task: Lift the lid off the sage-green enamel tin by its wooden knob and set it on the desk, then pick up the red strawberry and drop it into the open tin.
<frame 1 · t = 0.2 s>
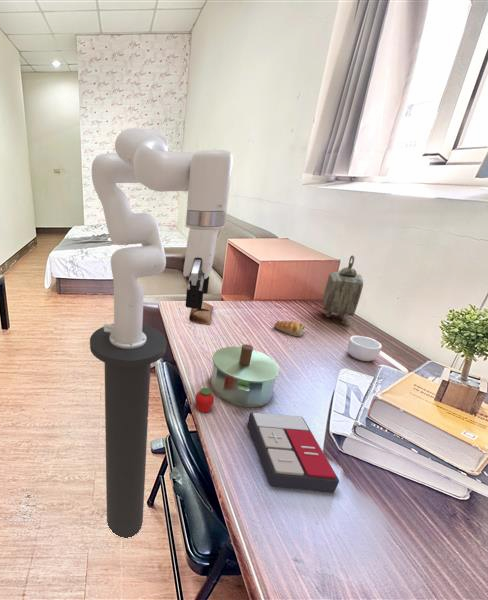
hand: (197, 299, 67), 27 cm above the table, tool pointing down, fingers open, 9 cm apart
lid: (244, 364, 78), point 7 cm above the table, touching tin
tin: (240, 388, 81), on the table
sunglasses case: (201, 314, 125), on the table
pastry: (290, 332, 111), on the table
tabletop clock: (333, 318, 121), on the table
calculator: (285, 455, 62), on the table
strawberry: (203, 407, 75), on the table
teacup: (359, 356, 96), on the table
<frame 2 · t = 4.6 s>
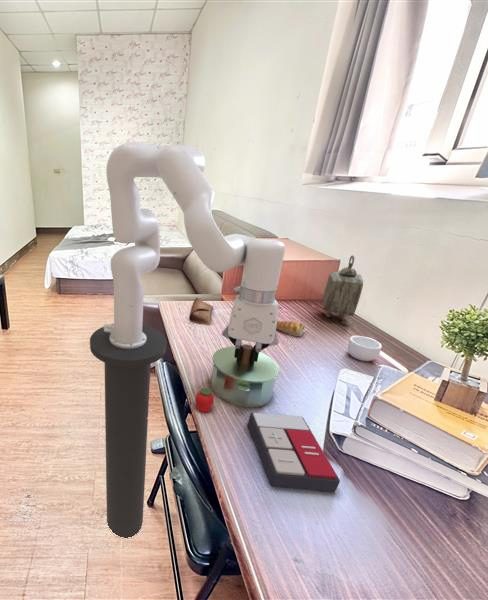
hand: (245, 361, 78), 8 cm above the table, tool pointing down, fingers closed on lid, 2 cm apart
lid: (244, 364, 78), point 8 cm above the table, touching gripper, tin
everything else where it was.
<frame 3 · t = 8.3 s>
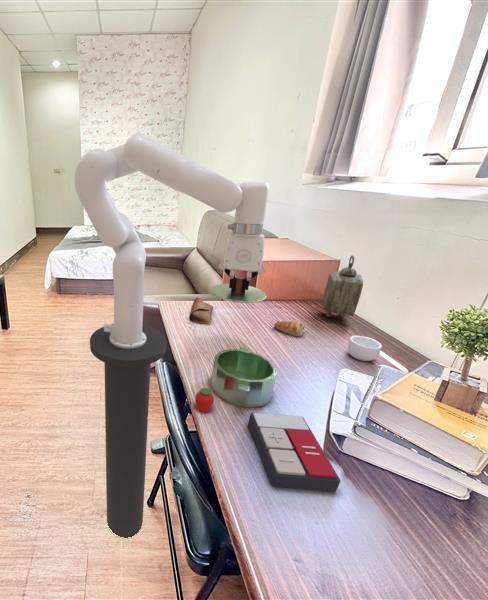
hand: (238, 290, 93), 20 cm above the table, tool pointing down, fingers closed on lid, 2 cm apart
lid: (237, 293, 93), point 19 cm above the table, touching gripper
everything else where it was.
when the fingers open (1 cm above the table, at t = 12.4 s): lid stays where it is, point 1 cm above the table.
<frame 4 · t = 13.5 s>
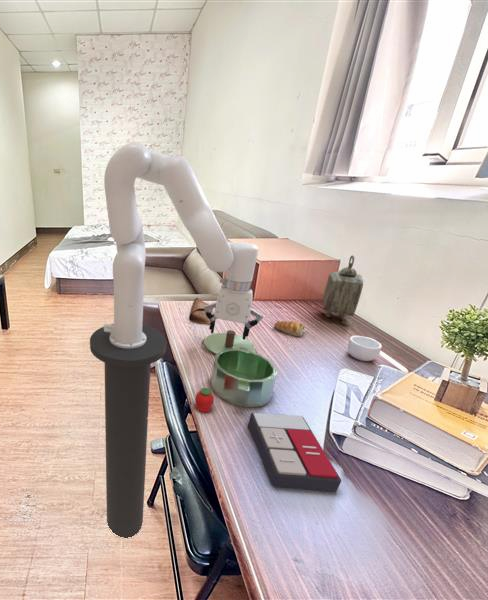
hand: (227, 334, 99), 5 cm above the table, tool pointing down, fingers open, 9 cm apart
lid: (229, 345, 100), point 1 cm above the table
everything else where it was.
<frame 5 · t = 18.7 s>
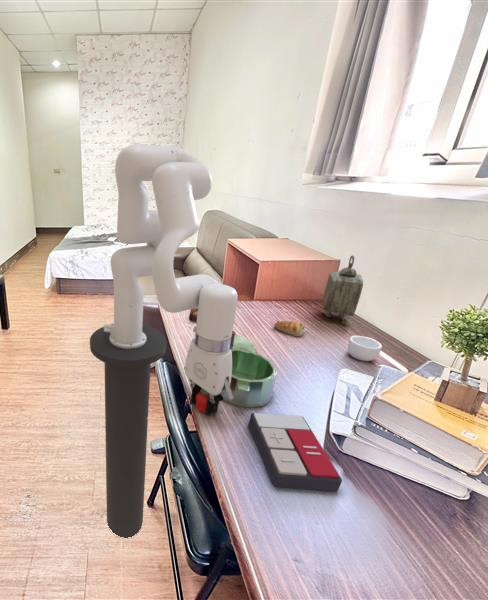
hand: (203, 406, 75), 0 cm above the table, tool pointing down, fingers closed on strawberry, 4 cm apart
strawberry: (203, 407, 75), on the table, touching gripper
everything else where it was.
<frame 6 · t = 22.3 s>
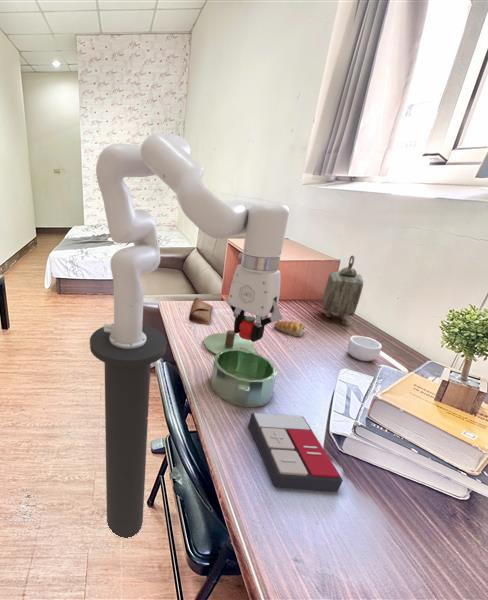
hand: (247, 335, 75), 16 cm above the table, tool pointing down, fingers closed on strawberry, 4 cm apart
strawberry: (247, 336, 75), point 16 cm above the table, touching gripper
everything else where it was.
when the fingers open (4 cm above the table, at t = 26.3 s): strawberry stays where it is, resting on tin.
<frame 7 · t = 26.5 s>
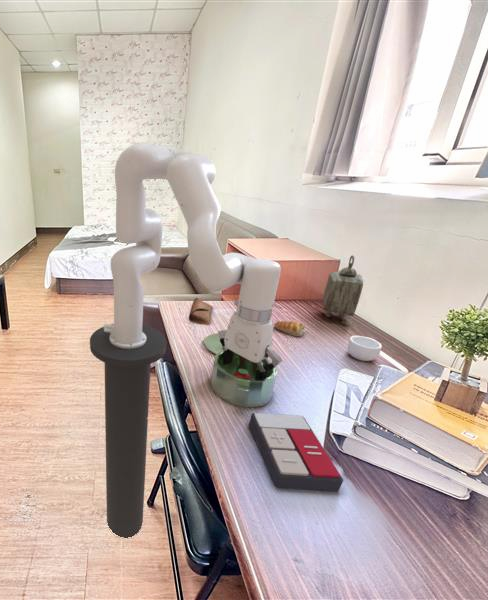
hand: (242, 372, 79), 5 cm above the table, tool pointing down, fingers open, 9 cm apart
strawberry: (240, 386, 81), resting on tin
everything else where it was.
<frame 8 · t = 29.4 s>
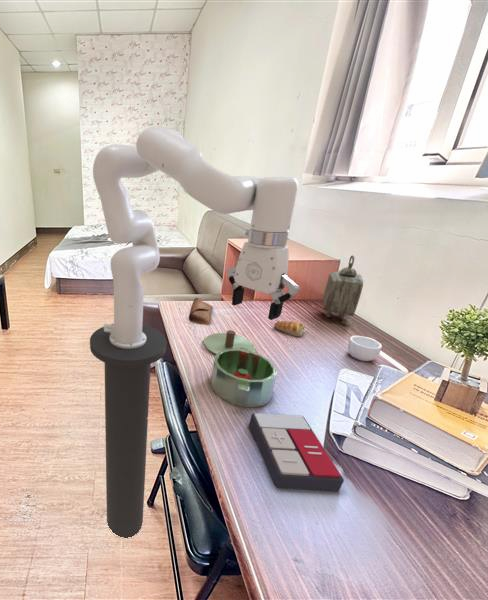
hand: (254, 310, 73), 22 cm above the table, tool pointing down, fingers open, 9 cm apart
nothing on the table moved.
at the end: lid inside the target area (0.1 cm from its centre), point 0.6 cm above the table; strawberry inside the target area in the tin (0.0 cm from its centre), point 0.5 cm above the tin's base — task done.
